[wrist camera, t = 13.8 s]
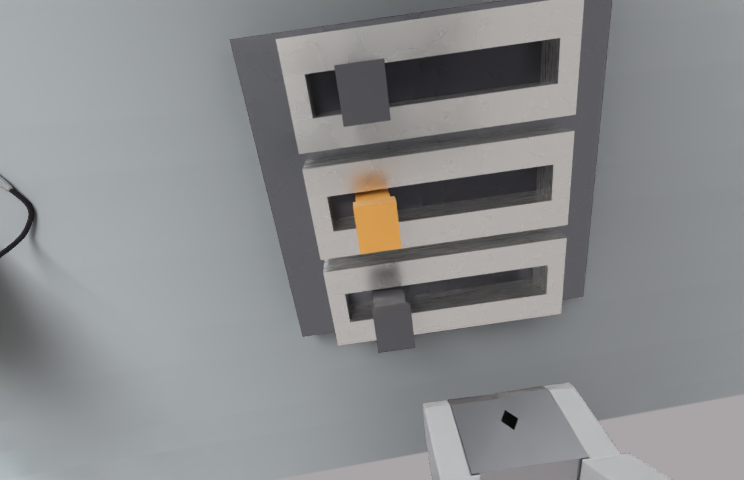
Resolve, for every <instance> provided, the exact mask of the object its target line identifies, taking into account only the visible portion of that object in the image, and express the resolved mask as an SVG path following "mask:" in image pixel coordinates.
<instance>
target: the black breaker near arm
mask: <svg viewBox="0 0 744 480" xmlns="http://www.w3.org/2000/svg"><path fill="white" fill-rule="evenodd" d="M334 68H335V74H336V80H337V87H338V93H339V100H340V106H341V113H342V119H343V126H344V127H347V126H354V125H361V124H368V123H375V122H382V121H389V120H391V118H390V109H389V100H388V90H387V81H386V72H385V62H384V58H382V59H375V60H368V61H361V62H354V63H347V64H340V65H334Z"/></svg>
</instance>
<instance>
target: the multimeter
mask: <svg viewBox="0 0 744 480" xmlns="http://www.w3.org/2000/svg"><path fill="white" fill-rule="evenodd" d="M0 187H1V188H3V189H5V190H6V191H10V192H11V193H12V194H13V195H15V196H16V197H17V198H18V199H20V200H21V201H22V202H23V203H24V204H25V206H26V207H27V209H28V213H29V216H28V221H27V223H26V226H25V228H24V230H23V231H22V233H21V235H20V236H19V237H18V238H17V239H16V240H15V241H14V242H12V243H11V244H10V245H9V246H7V247H6V248H5V249H3V250H2V251H1V252H0V258H1V257H2V256H3V255H5V254H6V253H8V252H9V251H10V250H11V249H13V248H14V247H15V246H16V245H17V244H19V243H20V242H21V241H22V240H23V239H24V238H25V236H26V235H27V233H28V232H29V229H30V227H31V225H32V222H33V219H34V210H33V207H32V205H31V204H30V203H29V202H28V201H27V200H26V199H25V198H24V197H23V196H22V195H21V194H20V193H18V192H17V191H16V190H15V189H13V187H12V186H11V185H10V184H9V183H8V182H7V181H6V180H5V179H4V178H2V177H1V176H0Z"/></svg>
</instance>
